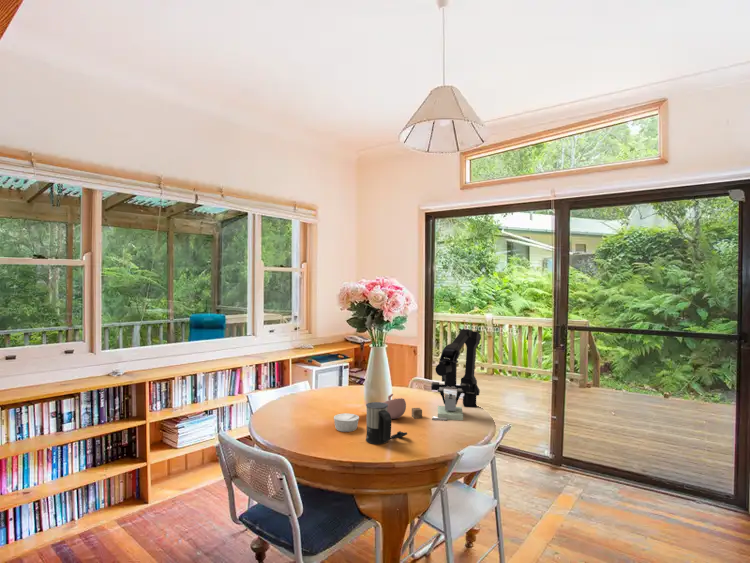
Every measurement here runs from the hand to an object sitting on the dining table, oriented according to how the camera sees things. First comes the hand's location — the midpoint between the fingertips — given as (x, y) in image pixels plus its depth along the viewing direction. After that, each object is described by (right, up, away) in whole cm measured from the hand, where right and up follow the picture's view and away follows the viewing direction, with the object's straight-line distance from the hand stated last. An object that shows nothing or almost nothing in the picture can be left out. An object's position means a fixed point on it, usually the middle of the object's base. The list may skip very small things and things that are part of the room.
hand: (450, 404), depth 220 cm
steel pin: (-6, -5, -8) cm, 12 cm away
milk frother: (-32, -5, -36) cm, 48 cm away
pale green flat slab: (0, -5, 0) cm, 5 cm away
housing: (0, -2, 0) cm, 2 cm away
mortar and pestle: (-28, -5, -6) cm, 29 cm away
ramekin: (-50, -5, -22) cm, 55 cm away
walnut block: (-17, -5, -4) cm, 18 cm away
